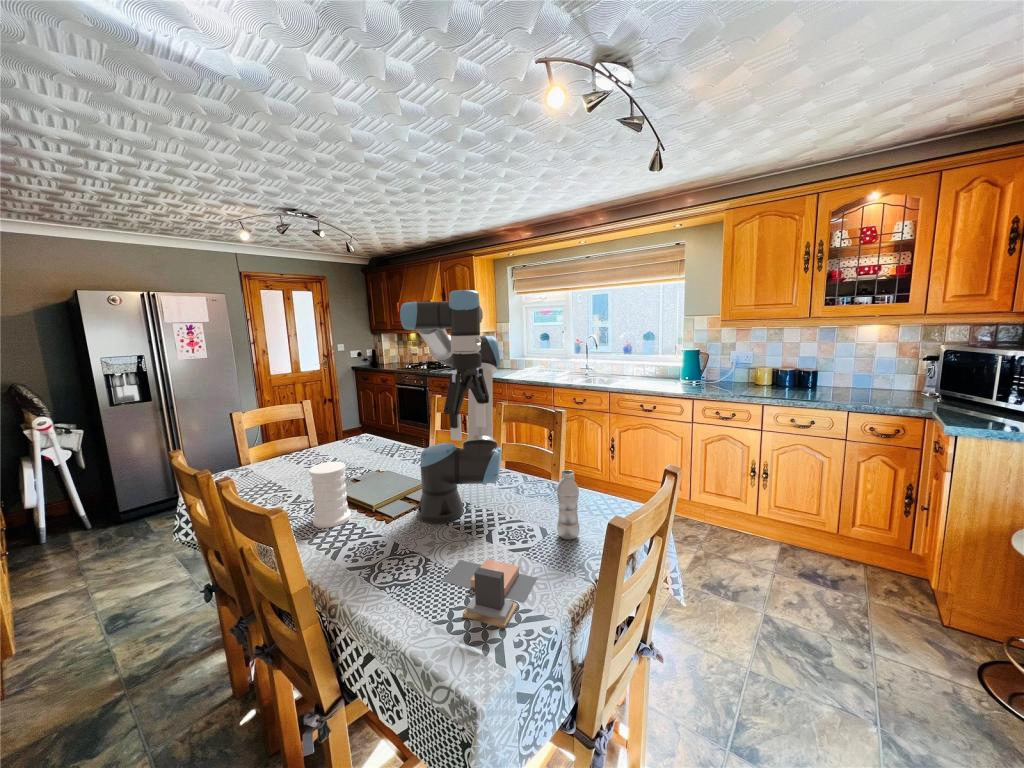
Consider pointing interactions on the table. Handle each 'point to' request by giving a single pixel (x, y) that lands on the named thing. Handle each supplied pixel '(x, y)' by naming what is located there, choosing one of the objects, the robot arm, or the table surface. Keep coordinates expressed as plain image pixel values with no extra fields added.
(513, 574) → the tile
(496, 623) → the board
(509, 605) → the grout float
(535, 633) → the table surface
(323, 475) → the decorative container
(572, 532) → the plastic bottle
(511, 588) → the mat
